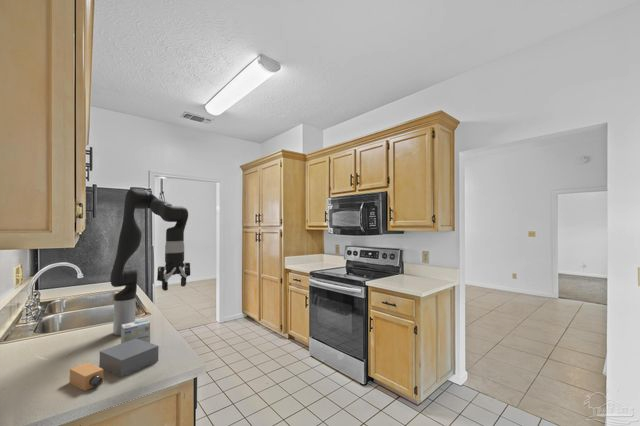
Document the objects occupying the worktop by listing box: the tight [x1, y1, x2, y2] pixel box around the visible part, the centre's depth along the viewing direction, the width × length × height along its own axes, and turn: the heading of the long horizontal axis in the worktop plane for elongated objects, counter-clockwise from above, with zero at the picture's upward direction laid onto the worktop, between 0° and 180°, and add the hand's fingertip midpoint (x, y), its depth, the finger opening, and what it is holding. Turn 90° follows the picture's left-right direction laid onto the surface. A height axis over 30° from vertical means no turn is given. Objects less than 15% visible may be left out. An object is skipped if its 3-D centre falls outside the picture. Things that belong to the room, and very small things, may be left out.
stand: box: [98, 338, 160, 378], centre depth 116 cm, size 16×14×6 cm
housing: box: [69, 361, 104, 392], centre depth 102 cm, size 13×6×5 cm, turn 62°
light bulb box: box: [120, 319, 151, 344], centre depth 131 cm, size 11×7×11 cm, turn 135°
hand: (174, 288), depth 126 cm, fingers open, 8 cm apart
